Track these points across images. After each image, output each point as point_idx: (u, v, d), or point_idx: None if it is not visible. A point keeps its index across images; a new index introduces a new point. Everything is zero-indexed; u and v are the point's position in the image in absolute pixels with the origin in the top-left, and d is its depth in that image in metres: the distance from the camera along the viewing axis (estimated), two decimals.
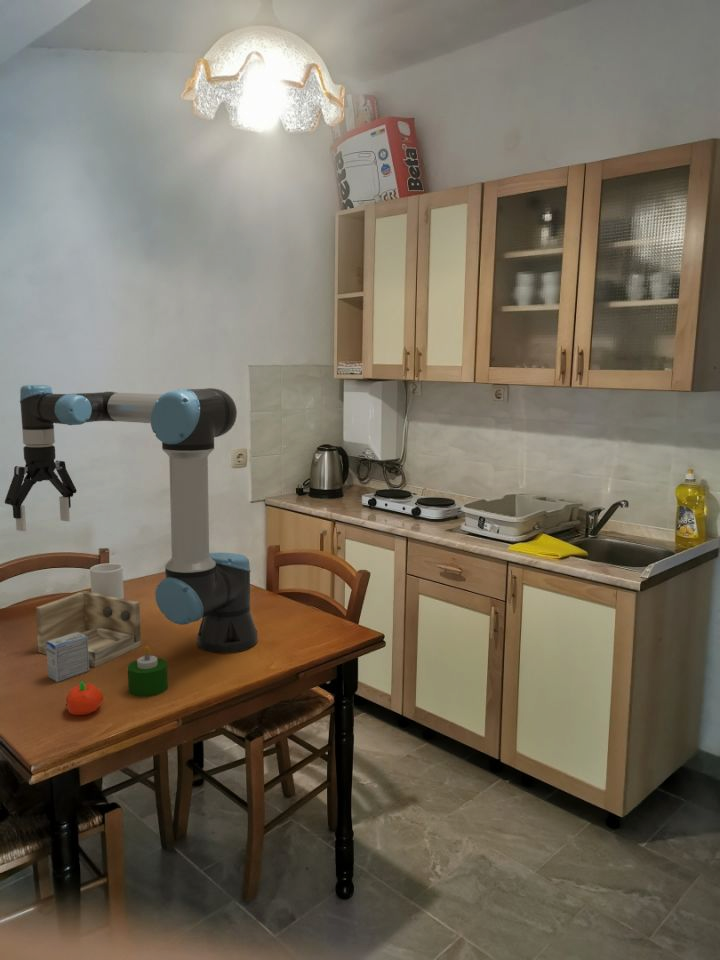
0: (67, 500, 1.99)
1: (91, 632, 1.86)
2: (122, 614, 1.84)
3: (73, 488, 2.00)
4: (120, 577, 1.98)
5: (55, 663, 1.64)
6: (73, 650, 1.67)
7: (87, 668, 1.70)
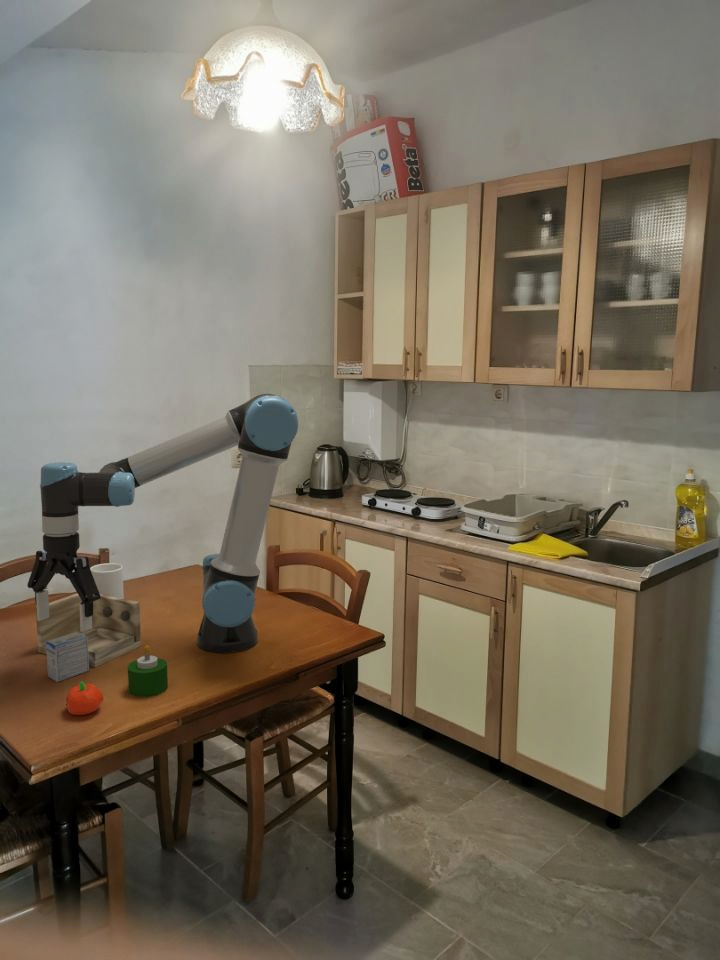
0: (80, 607, 1.62)
1: (91, 632, 1.86)
2: (122, 614, 1.84)
3: (88, 595, 1.61)
4: (120, 577, 1.98)
5: (55, 663, 1.64)
6: (73, 650, 1.67)
7: (87, 668, 1.70)
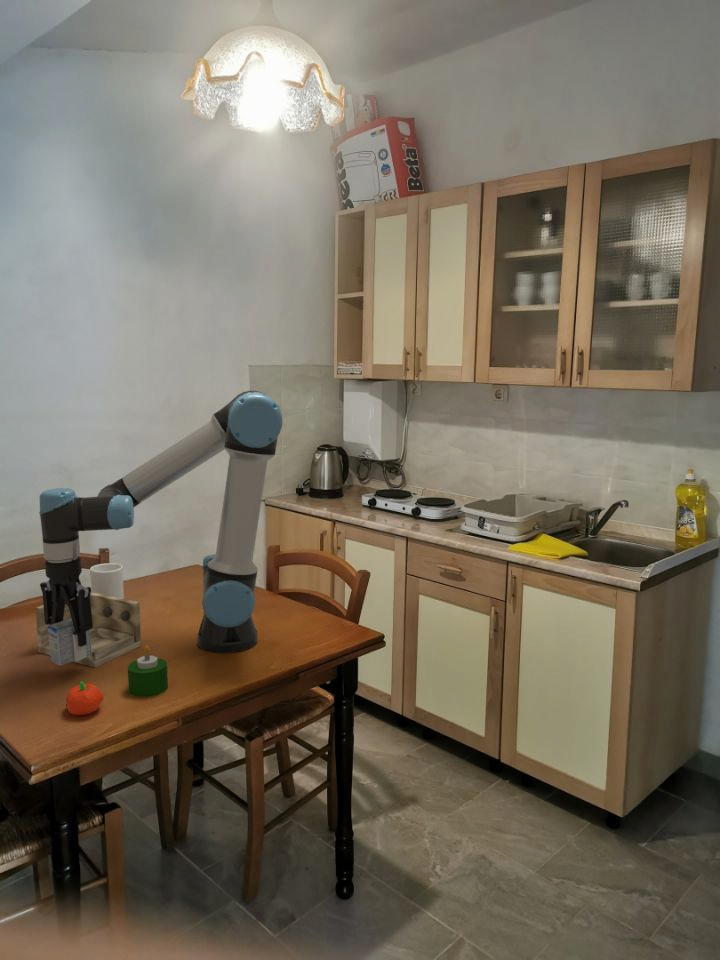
0: (73, 637, 1.65)
1: (91, 632, 1.86)
2: (122, 614, 1.84)
3: (82, 625, 1.64)
4: (120, 577, 1.98)
5: (57, 647, 1.64)
6: None
7: (90, 651, 1.70)
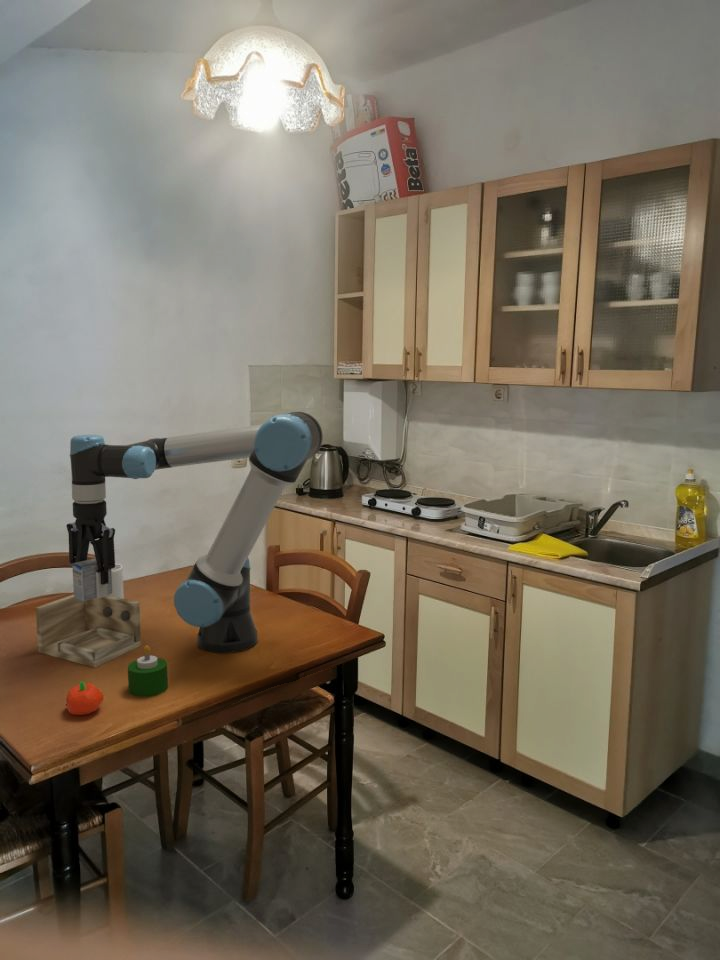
0: (97, 575, 1.76)
1: (91, 632, 1.86)
2: (122, 614, 1.84)
3: (105, 564, 1.74)
4: (120, 577, 1.98)
5: (81, 583, 1.74)
6: None
7: (110, 590, 1.80)
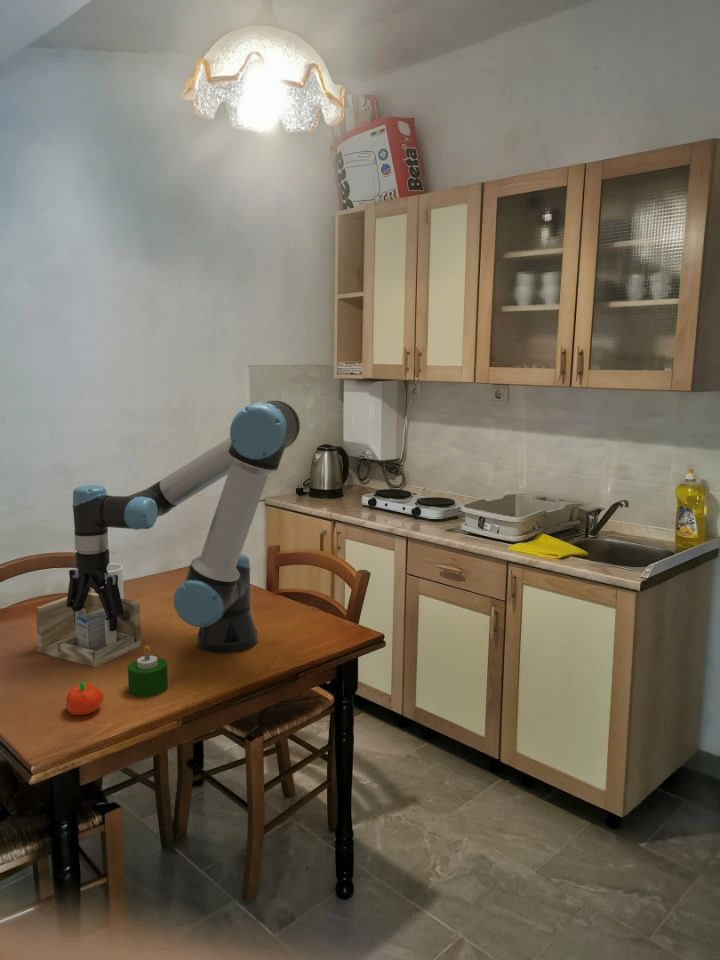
0: (105, 622, 1.77)
1: None
2: None
3: (113, 611, 1.75)
4: (120, 577, 1.98)
5: (86, 636, 1.76)
6: (102, 624, 1.79)
7: None
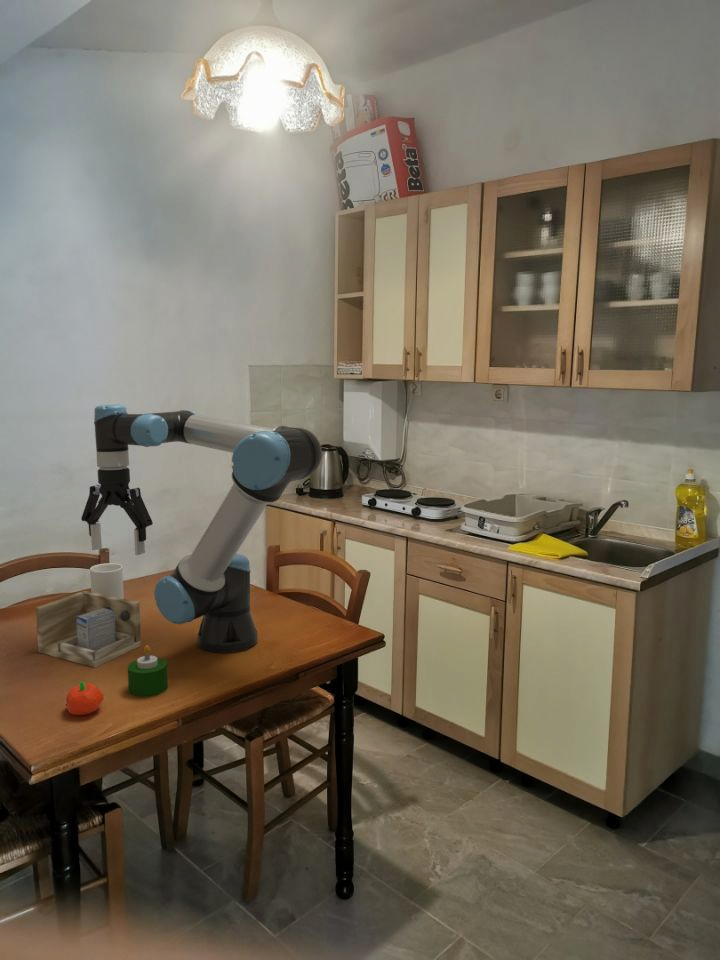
0: (135, 532, 1.81)
1: None
2: (122, 614, 1.84)
3: (142, 521, 1.80)
4: (120, 577, 1.98)
5: (86, 636, 1.76)
6: (102, 624, 1.79)
7: (114, 641, 1.83)
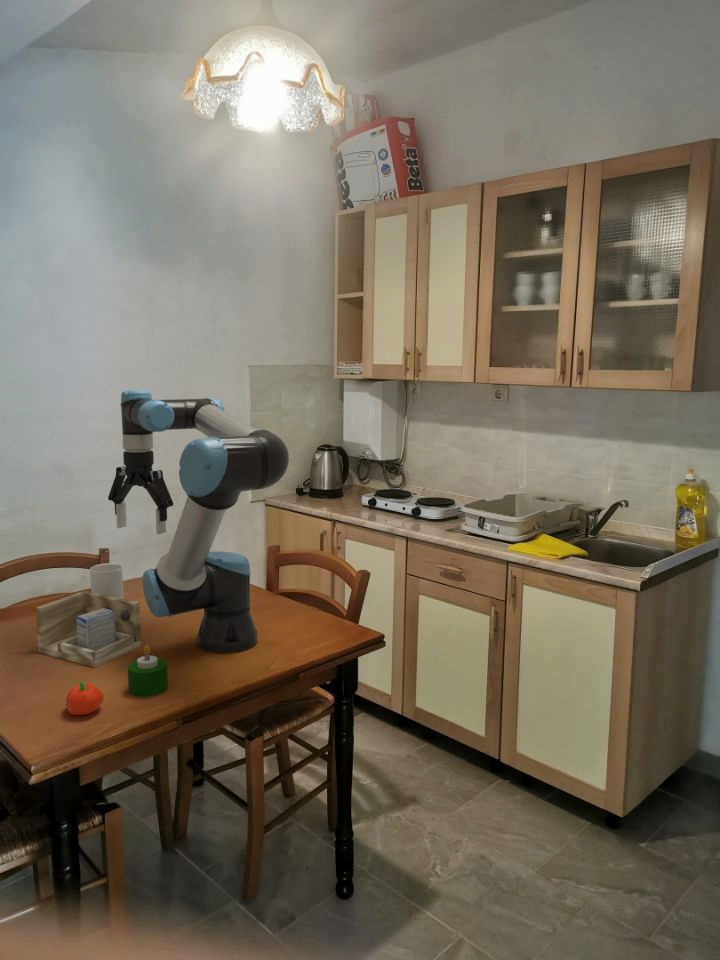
0: (156, 512, 1.90)
1: None
2: (122, 614, 1.84)
3: (163, 502, 1.88)
4: (120, 577, 1.98)
5: (86, 636, 1.76)
6: (102, 624, 1.79)
7: (114, 641, 1.83)
